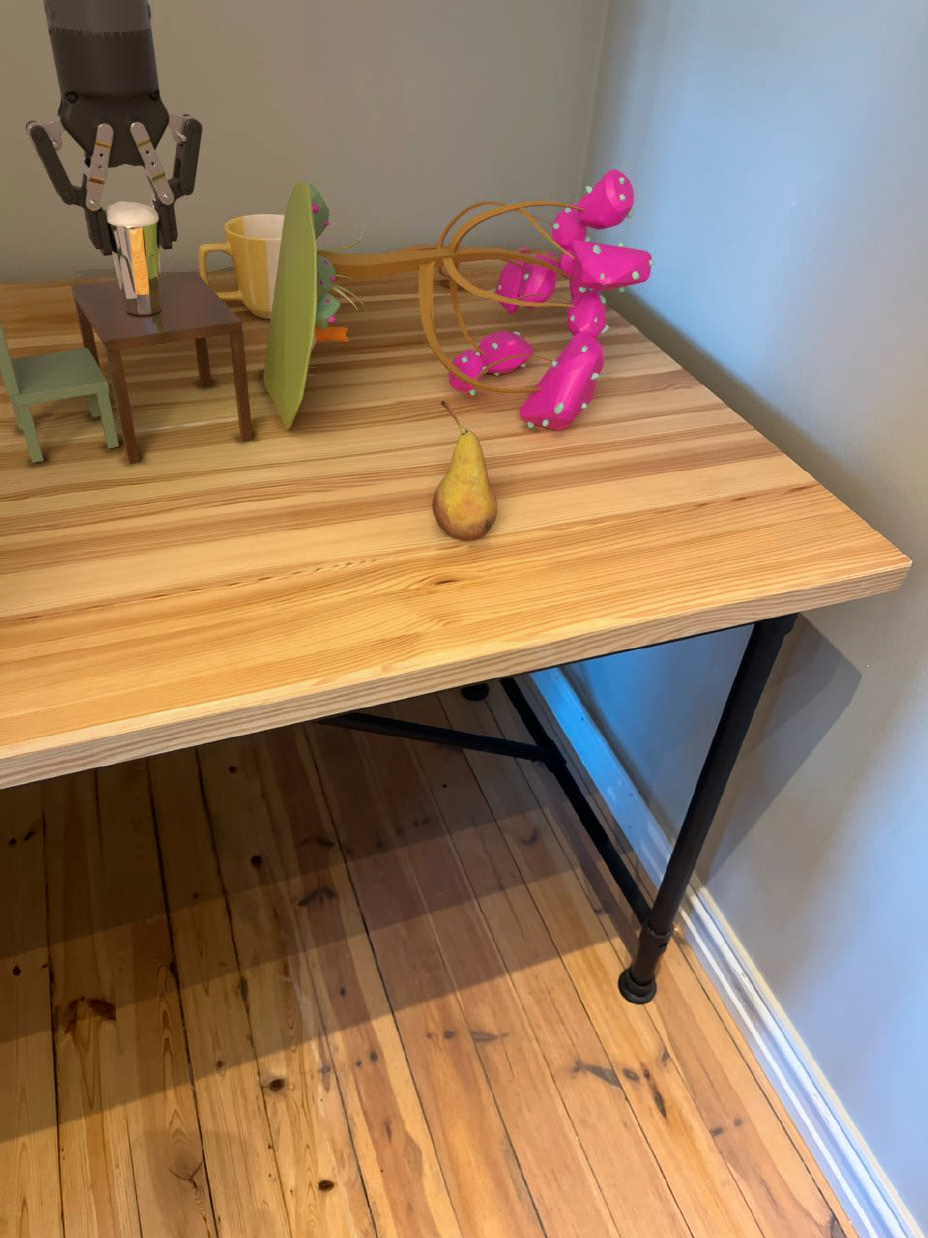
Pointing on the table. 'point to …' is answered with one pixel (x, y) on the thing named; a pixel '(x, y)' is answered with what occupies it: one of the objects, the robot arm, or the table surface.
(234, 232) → the mug
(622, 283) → the green and pink pieces
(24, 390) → the chair
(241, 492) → the table surface
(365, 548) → the table surface
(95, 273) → the table surface
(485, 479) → the fruit
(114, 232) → the milkshake
